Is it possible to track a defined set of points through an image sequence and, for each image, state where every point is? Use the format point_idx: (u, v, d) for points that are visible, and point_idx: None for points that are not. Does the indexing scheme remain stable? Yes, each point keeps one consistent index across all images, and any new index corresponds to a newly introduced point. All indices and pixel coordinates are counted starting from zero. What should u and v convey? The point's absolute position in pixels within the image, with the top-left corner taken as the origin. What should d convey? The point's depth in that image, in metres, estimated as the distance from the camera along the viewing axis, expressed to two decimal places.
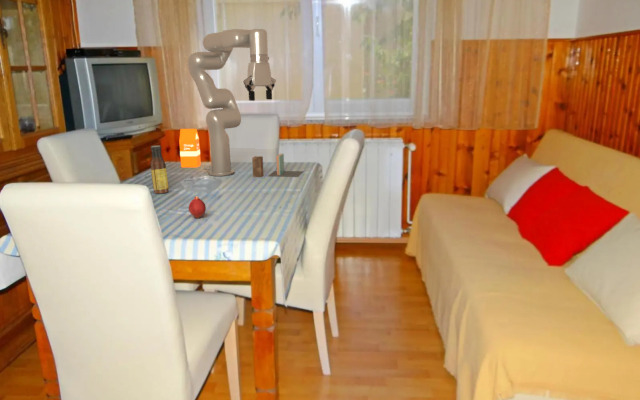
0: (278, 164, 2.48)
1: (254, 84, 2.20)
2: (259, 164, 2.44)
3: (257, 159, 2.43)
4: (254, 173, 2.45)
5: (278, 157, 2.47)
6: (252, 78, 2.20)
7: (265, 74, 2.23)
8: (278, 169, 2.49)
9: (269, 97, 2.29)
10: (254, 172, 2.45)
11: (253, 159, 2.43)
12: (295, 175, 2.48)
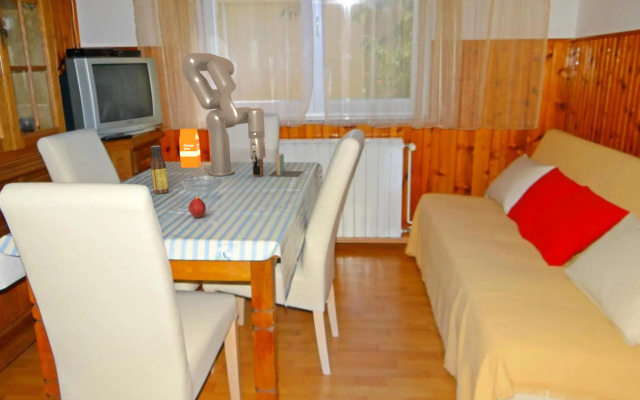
0: (278, 164, 2.48)
1: None
2: (259, 164, 2.44)
3: (257, 159, 2.43)
4: None
5: (278, 157, 2.47)
6: None
7: None
8: (278, 169, 2.49)
9: None
10: None
11: None
12: (295, 175, 2.48)
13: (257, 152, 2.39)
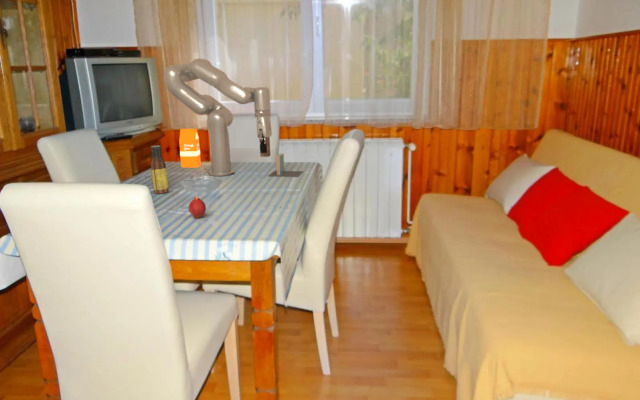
0: (278, 164, 2.48)
1: None
2: (266, 142, 2.49)
3: None
4: None
5: (278, 157, 2.47)
6: None
7: None
8: (278, 169, 2.49)
9: None
10: None
11: None
12: (295, 175, 2.48)
13: (264, 130, 2.44)
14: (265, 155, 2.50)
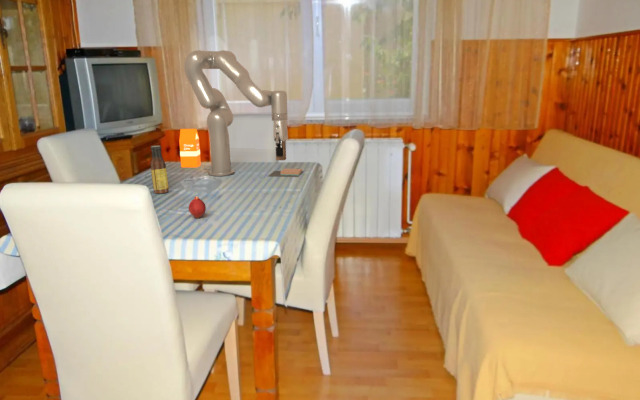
0: (290, 173, 2.48)
1: None
2: (282, 146, 2.48)
3: None
4: None
5: (297, 174, 2.48)
6: None
7: None
8: (285, 173, 2.49)
9: None
10: None
11: None
12: (295, 175, 2.48)
13: (280, 134, 2.43)
14: (281, 159, 2.49)
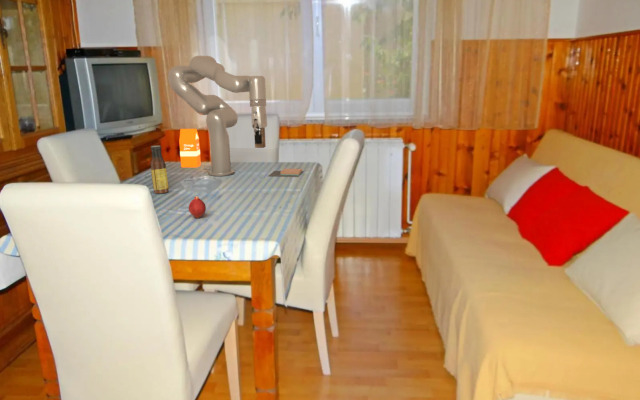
0: (290, 173, 2.48)
1: None
2: (261, 133, 2.41)
3: None
4: None
5: (297, 174, 2.48)
6: None
7: None
8: (285, 173, 2.49)
9: None
10: None
11: None
12: (295, 175, 2.48)
13: (259, 120, 2.36)
14: (260, 146, 2.42)
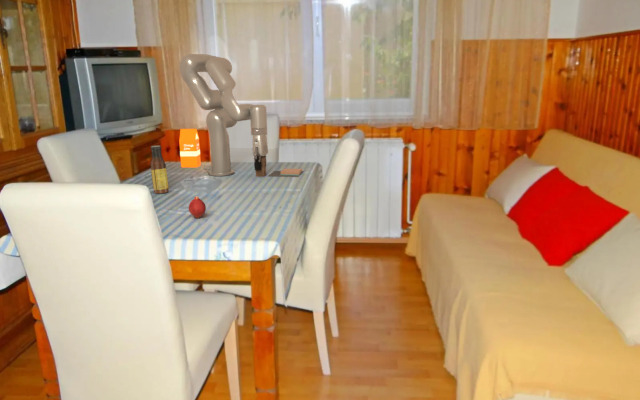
0: (290, 173, 2.48)
1: None
2: (262, 164, 2.44)
3: None
4: (257, 173, 2.46)
5: (297, 174, 2.48)
6: None
7: None
8: (285, 173, 2.49)
9: None
10: (257, 172, 2.46)
11: None
12: (295, 175, 2.48)
13: (260, 149, 2.40)
14: None
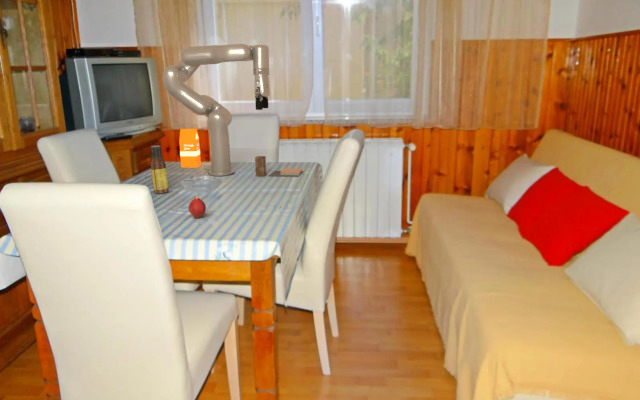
0: (290, 173, 2.48)
1: None
2: (262, 164, 2.44)
3: (260, 159, 2.44)
4: (257, 173, 2.46)
5: (297, 174, 2.48)
6: None
7: None
8: (285, 173, 2.49)
9: None
10: (257, 172, 2.46)
11: (256, 159, 2.44)
12: (295, 175, 2.48)
13: (261, 88, 2.41)
14: None
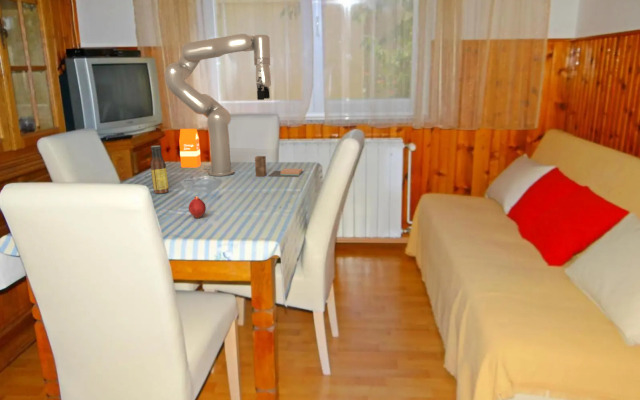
0: (290, 173, 2.48)
1: None
2: (262, 164, 2.44)
3: (260, 159, 2.44)
4: (257, 173, 2.46)
5: (297, 174, 2.48)
6: None
7: None
8: (285, 173, 2.49)
9: None
10: (257, 172, 2.46)
11: (256, 159, 2.44)
12: (295, 175, 2.48)
13: (263, 78, 2.41)
14: None
